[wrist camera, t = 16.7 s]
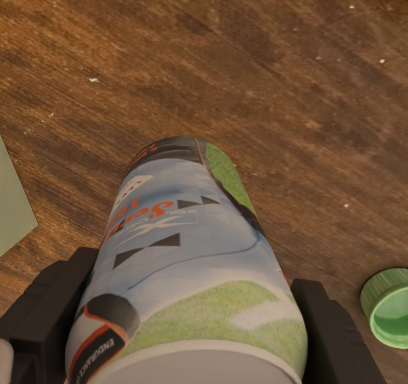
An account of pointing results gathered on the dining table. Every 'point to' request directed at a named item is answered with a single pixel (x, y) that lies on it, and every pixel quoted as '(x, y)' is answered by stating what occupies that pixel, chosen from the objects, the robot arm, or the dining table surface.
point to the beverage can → (185, 282)
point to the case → (12, 205)
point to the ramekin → (387, 306)
